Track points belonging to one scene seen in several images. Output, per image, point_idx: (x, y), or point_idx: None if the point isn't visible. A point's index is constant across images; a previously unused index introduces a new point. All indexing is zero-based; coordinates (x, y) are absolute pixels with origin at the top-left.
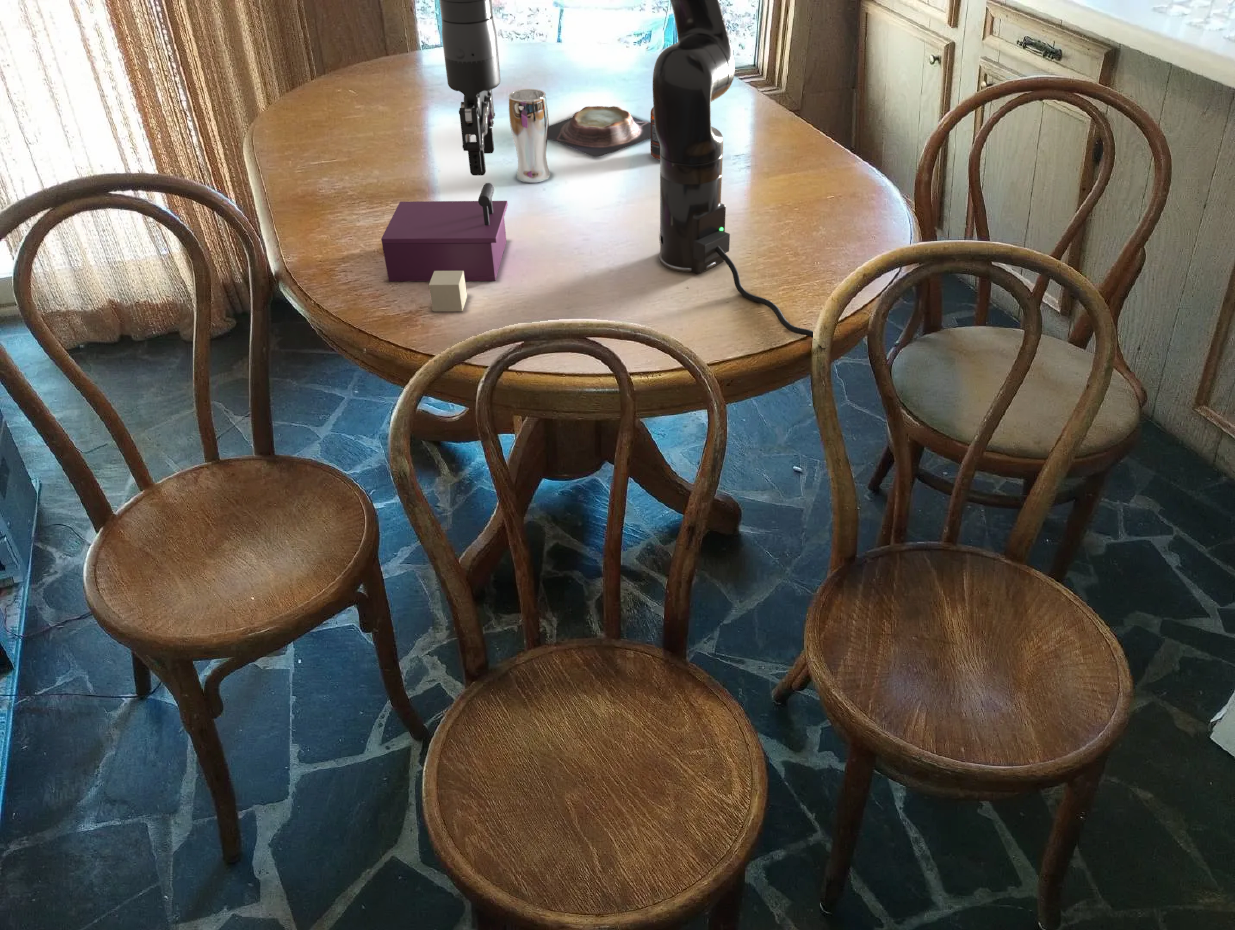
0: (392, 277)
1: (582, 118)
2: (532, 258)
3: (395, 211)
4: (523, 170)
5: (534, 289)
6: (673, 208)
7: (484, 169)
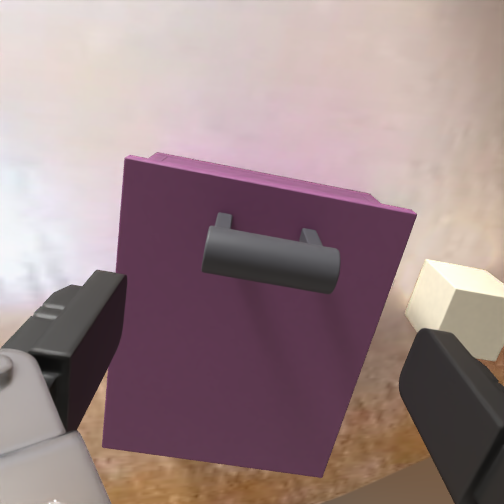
0: None
1: None
2: (268, 86)
3: (165, 455)
4: None
5: (445, 98)
6: None
7: (463, 346)
